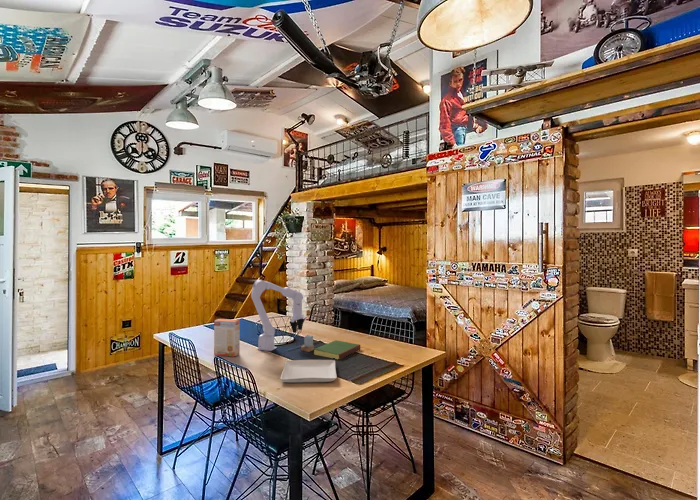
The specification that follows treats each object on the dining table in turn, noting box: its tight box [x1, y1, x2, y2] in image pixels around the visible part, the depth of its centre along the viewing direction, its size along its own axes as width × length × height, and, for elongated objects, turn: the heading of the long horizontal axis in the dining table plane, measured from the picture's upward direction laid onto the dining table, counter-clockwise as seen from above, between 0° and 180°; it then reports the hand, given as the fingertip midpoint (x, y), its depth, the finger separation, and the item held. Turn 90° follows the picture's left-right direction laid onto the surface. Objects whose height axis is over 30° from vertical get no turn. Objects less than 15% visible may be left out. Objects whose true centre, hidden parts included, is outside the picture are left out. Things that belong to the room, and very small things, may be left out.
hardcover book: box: [313, 340, 361, 360], centre depth 235 cm, size 25×19×4 cm
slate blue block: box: [303, 334, 314, 347], centre depth 238 cm, size 4×4×6 cm
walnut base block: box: [300, 344, 315, 353], centre depth 238 cm, size 6×6×3 cm
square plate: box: [279, 359, 338, 383], centre depth 195 cm, size 27×27×4 cm
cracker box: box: [213, 318, 241, 358], centre depth 227 cm, size 14×6×21 cm, turn 74°
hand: (297, 331), depth 246 cm, fingers open, 7 cm apart
